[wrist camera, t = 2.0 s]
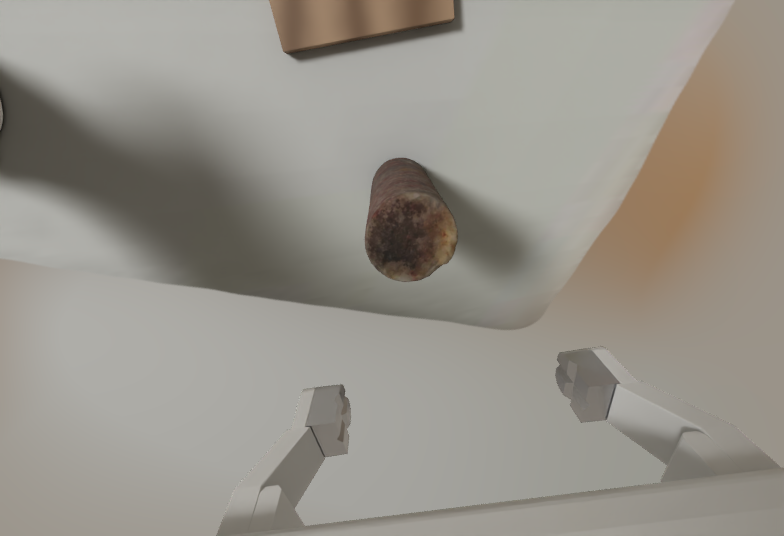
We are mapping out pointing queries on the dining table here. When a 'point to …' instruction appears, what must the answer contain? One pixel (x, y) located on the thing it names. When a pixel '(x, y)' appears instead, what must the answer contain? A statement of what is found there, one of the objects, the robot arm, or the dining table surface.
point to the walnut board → (352, 20)
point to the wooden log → (408, 223)
